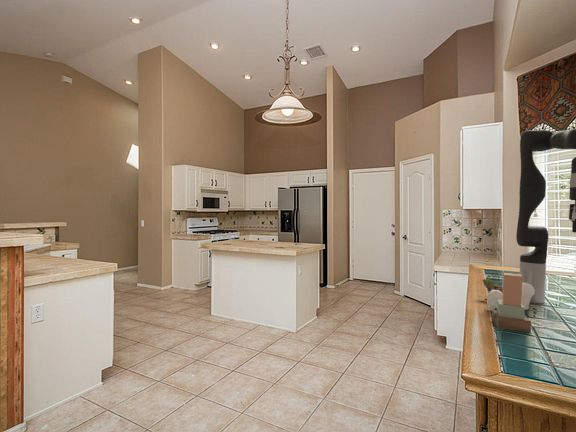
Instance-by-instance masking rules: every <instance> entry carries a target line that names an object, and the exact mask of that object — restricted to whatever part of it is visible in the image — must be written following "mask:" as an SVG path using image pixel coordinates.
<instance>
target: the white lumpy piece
mask: <svg viewBox="0 0 576 432" xmlns="http://www.w3.org/2000/svg"><path fill="white" fill-rule="evenodd" d="M486 299H487V300H486V306H487V308H486V310H487V311H489V312H492V310H495V309H497V300H503V293H502V292H501V291H499V290H492V291H490V292H489V291H488V293H487V294H486Z"/></svg>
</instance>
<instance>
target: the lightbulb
mask: <svg viewBox="0 0 576 432" xmlns="http://www.w3.org/2000/svg"><path fill="white" fill-rule="evenodd" d="M534 292H535V290H534V288H533V286H532V285H530V284H529V283H522V301H521V303H522V305H523V306H524V307H525V310H524V311H527V310H529V305H530V303H531V302H530V299H531V298H532V296H533V295H534Z"/></svg>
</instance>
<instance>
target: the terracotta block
mask: <svg viewBox="0 0 576 432" xmlns="http://www.w3.org/2000/svg"><path fill="white" fill-rule="evenodd" d="M502 274H503V277H502V282H503V283H502V289H503V290H502V291H503V304H506V305H513V306H520V307H521V301H522V275H521V274H520V273H509V272H503V273H502Z"/></svg>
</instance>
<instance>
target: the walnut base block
mask: <svg viewBox="0 0 576 432" xmlns="http://www.w3.org/2000/svg"><path fill="white" fill-rule="evenodd" d="M491 321H492V322H493V324H494V325H495V326H496V327H497V328H498V329H503V330H510V331H517V332H518V331H520V332H529V333H531V329H532V320H531V319H529V318H528V317H527V316H526V315H524V320H523V319H516V318H509V317H502V316H499V315H498V312H497V309H496V310H495V309H494V310H492V311H491Z"/></svg>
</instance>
